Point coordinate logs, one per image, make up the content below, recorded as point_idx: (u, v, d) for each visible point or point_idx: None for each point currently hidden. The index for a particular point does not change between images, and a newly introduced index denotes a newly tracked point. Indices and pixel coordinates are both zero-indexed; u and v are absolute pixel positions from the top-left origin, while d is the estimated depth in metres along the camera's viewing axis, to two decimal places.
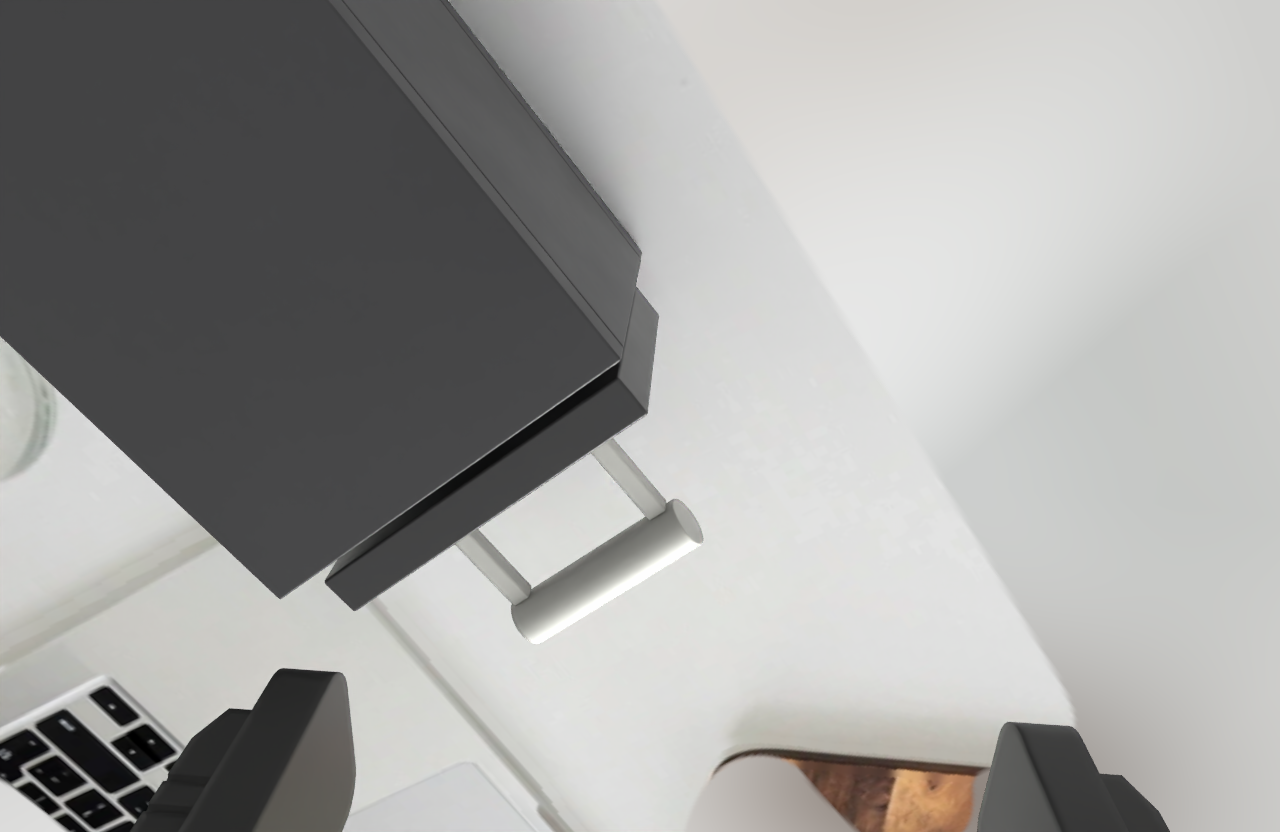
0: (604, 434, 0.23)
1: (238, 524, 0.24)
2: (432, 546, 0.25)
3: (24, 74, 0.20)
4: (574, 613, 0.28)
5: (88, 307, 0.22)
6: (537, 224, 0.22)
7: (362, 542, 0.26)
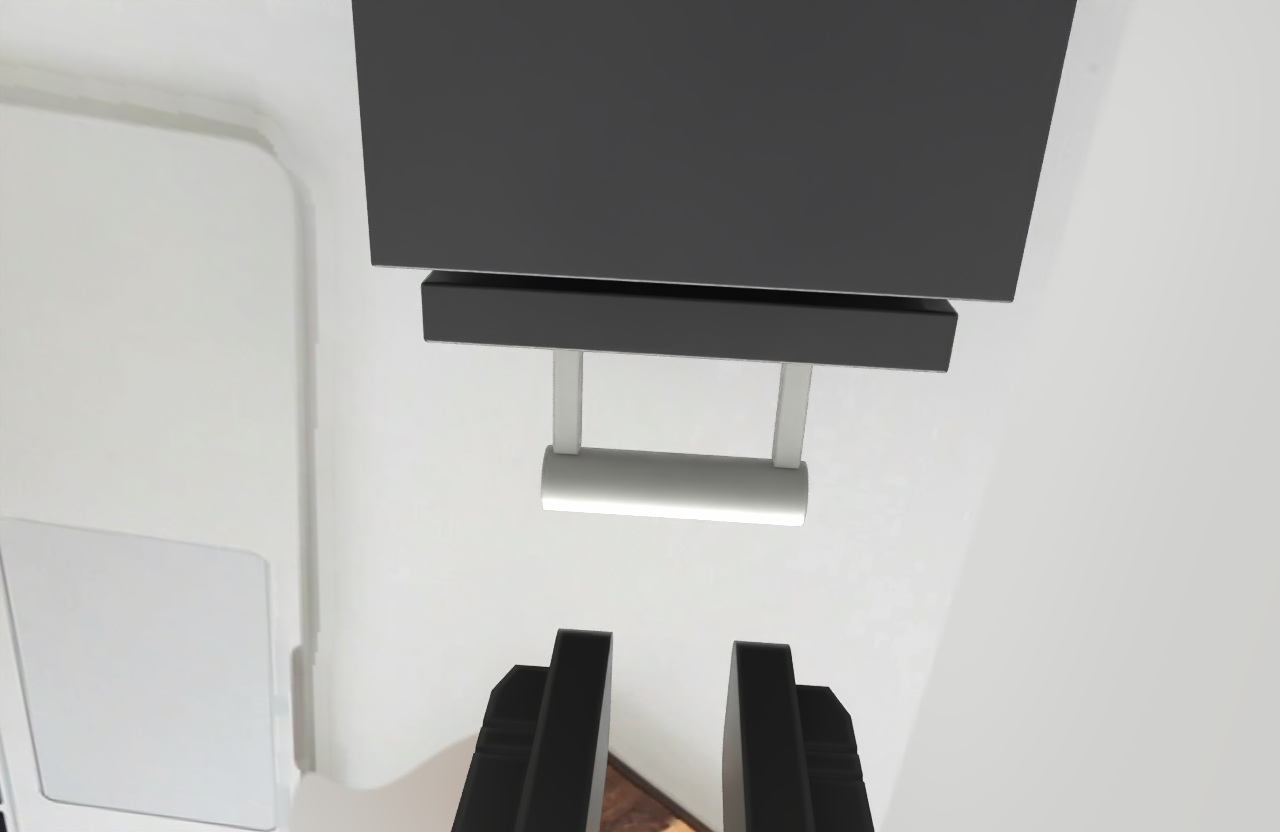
0: (886, 360, 0.18)
1: (409, 140, 0.16)
2: (589, 337, 0.18)
3: None
4: (618, 505, 0.22)
5: None
6: None
7: None
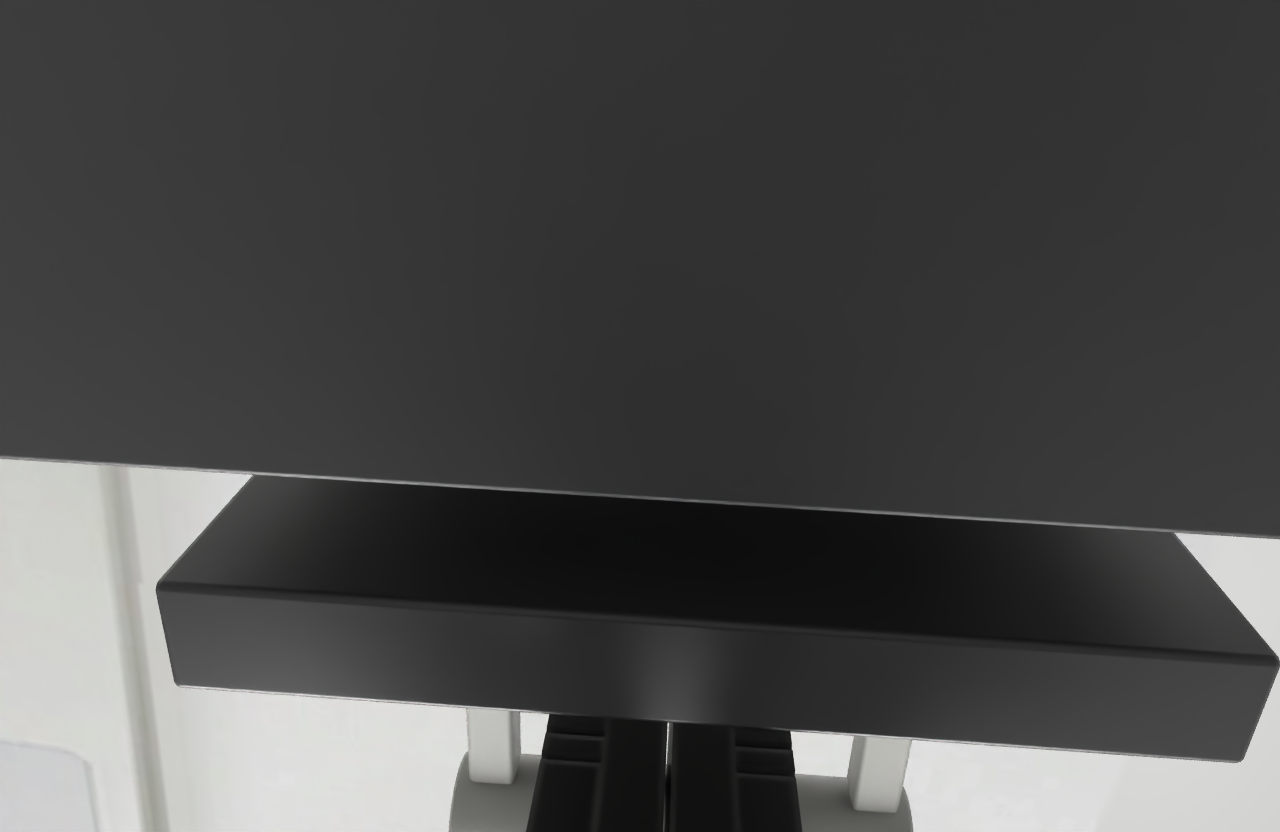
0: (1118, 740, 0.09)
1: (3, 162, 0.06)
2: (504, 687, 0.09)
3: None
4: None
5: None
6: None
7: (306, 531, 0.10)
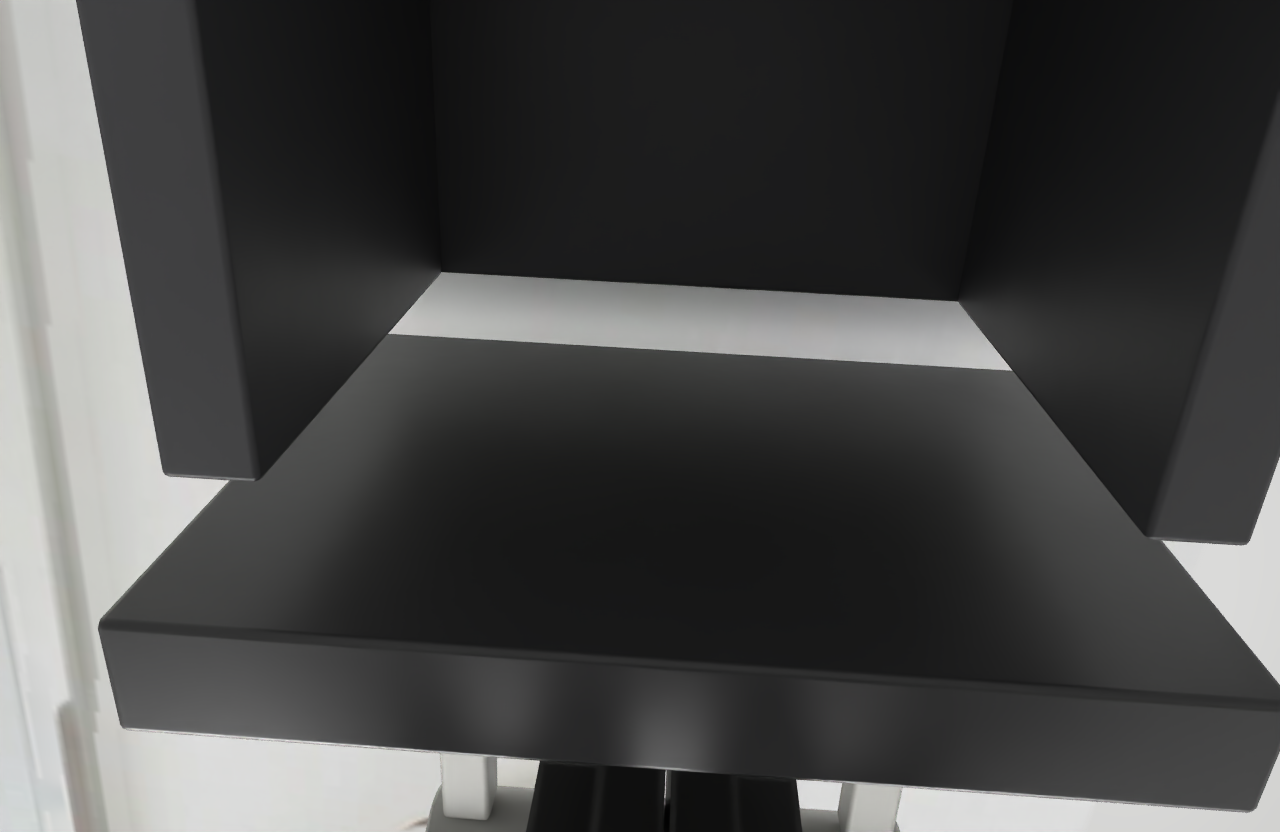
0: (1124, 788, 0.08)
1: None
2: (471, 732, 0.08)
3: None
4: None
5: None
6: None
7: (263, 563, 0.09)
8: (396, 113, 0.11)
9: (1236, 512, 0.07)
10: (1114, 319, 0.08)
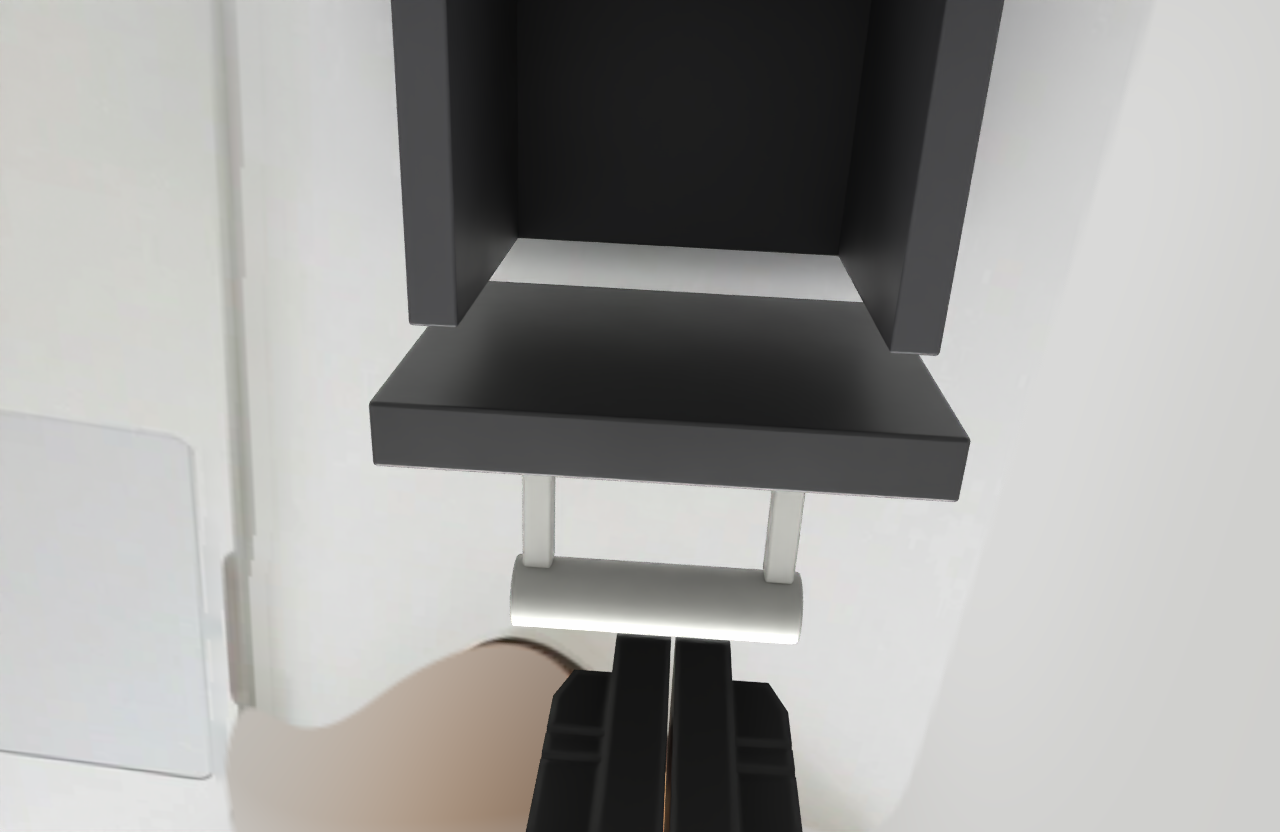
0: (890, 488, 0.16)
1: None
2: (557, 462, 0.16)
3: None
4: (594, 624, 0.20)
5: None
6: None
7: (443, 382, 0.17)
8: (503, 141, 0.18)
9: (930, 337, 0.15)
10: (885, 250, 0.16)
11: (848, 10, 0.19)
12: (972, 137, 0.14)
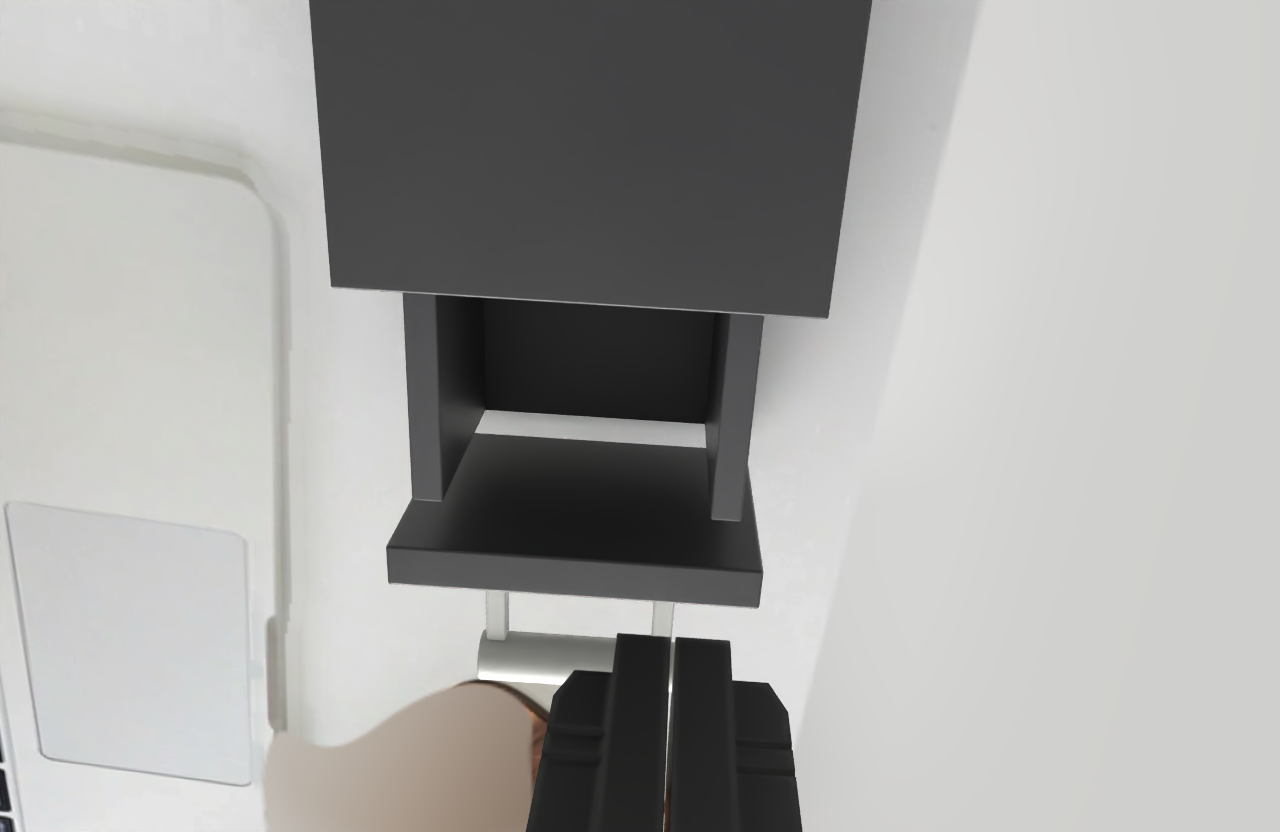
0: (715, 600, 0.26)
1: (360, 191, 0.21)
2: (505, 583, 0.26)
3: None
4: (535, 679, 0.29)
5: None
6: None
7: (433, 529, 0.26)
8: (474, 360, 0.28)
9: (734, 511, 0.25)
10: (712, 450, 0.26)
11: None
12: (750, 401, 0.23)
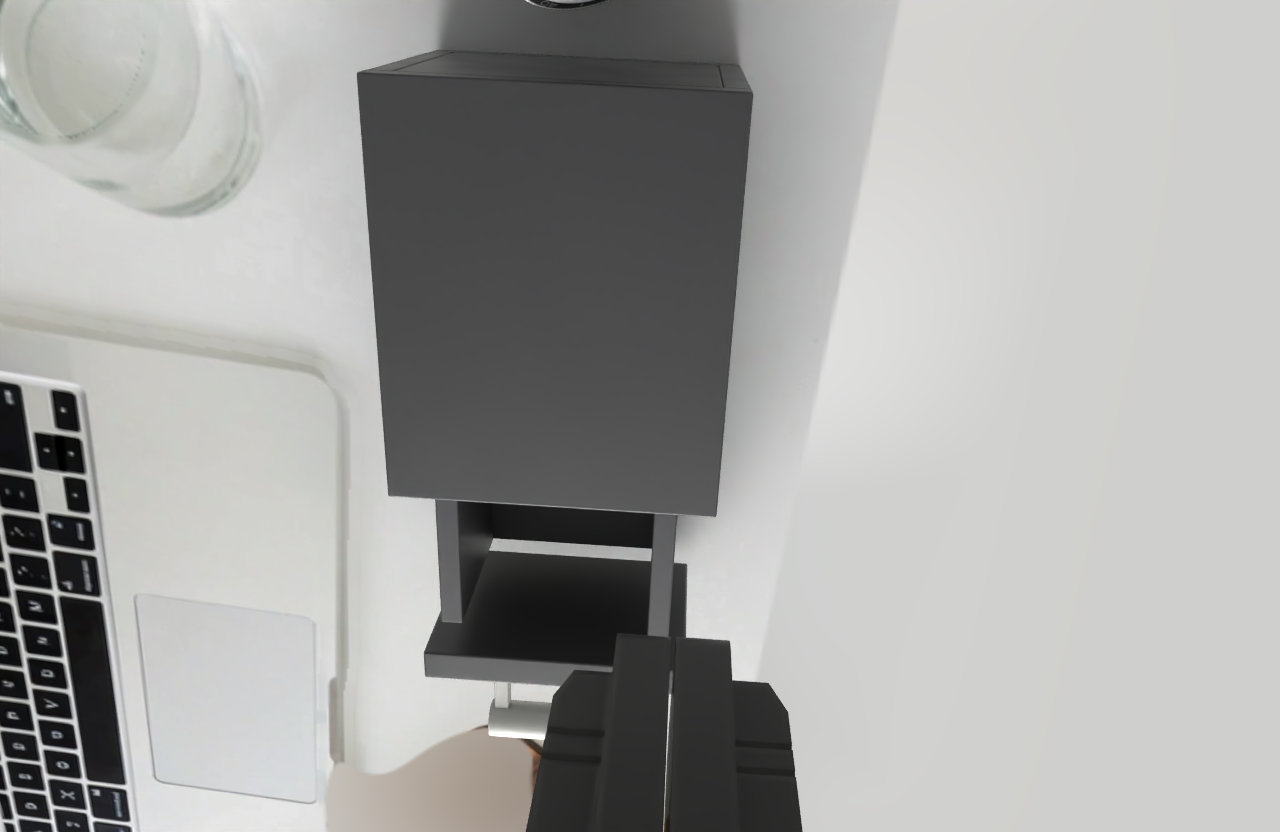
0: None
1: (407, 440, 0.32)
2: (506, 677, 0.37)
3: (539, 138, 0.28)
4: (530, 736, 0.41)
5: (444, 268, 0.29)
6: None
7: (456, 637, 0.37)
8: (484, 512, 0.39)
9: (663, 630, 0.36)
10: None
11: None
12: (670, 560, 0.34)
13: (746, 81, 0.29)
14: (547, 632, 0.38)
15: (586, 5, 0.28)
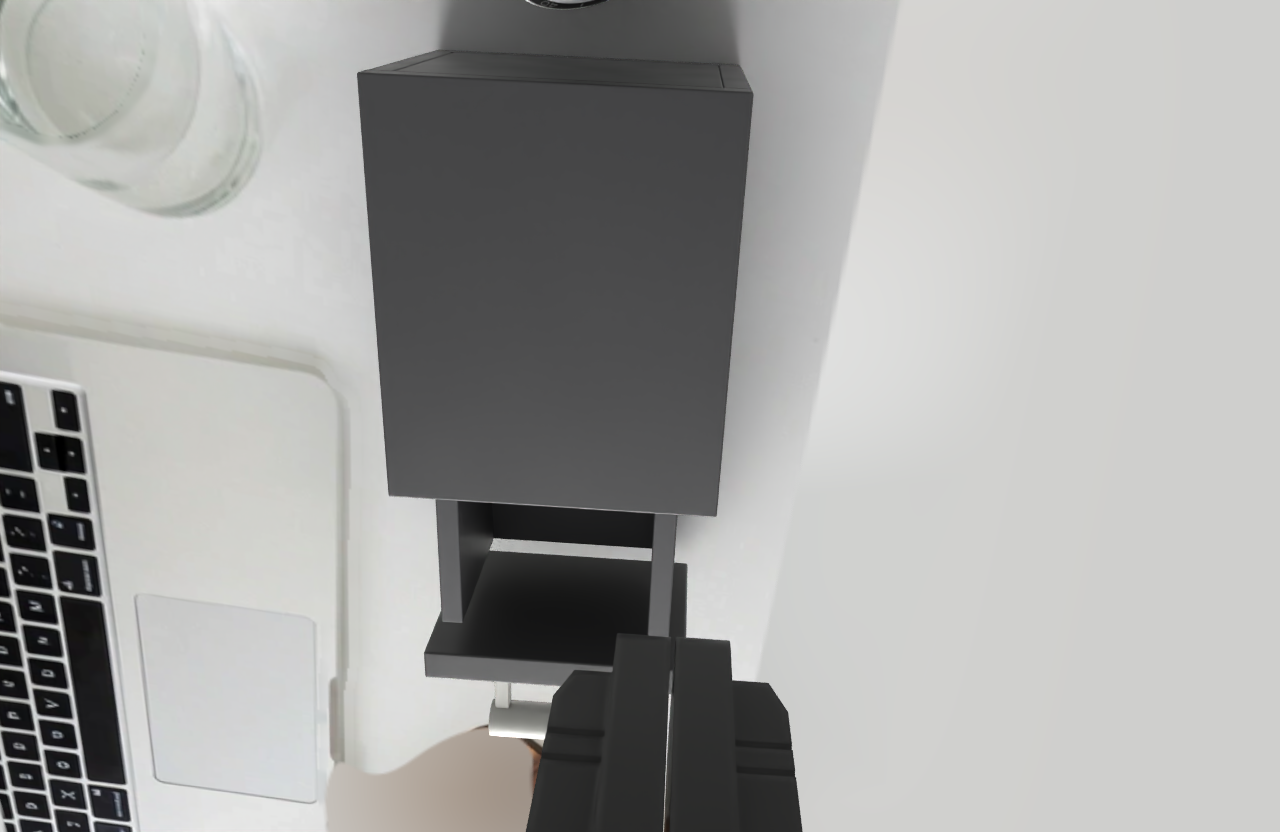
0: None
1: (408, 440, 0.32)
2: (506, 676, 0.37)
3: (539, 138, 0.28)
4: (530, 736, 0.41)
5: (444, 268, 0.29)
6: None
7: (456, 637, 0.37)
8: (484, 512, 0.39)
9: (663, 630, 0.36)
10: None
11: None
12: (671, 560, 0.34)
13: (746, 81, 0.29)
14: (547, 632, 0.38)
15: (586, 5, 0.28)
